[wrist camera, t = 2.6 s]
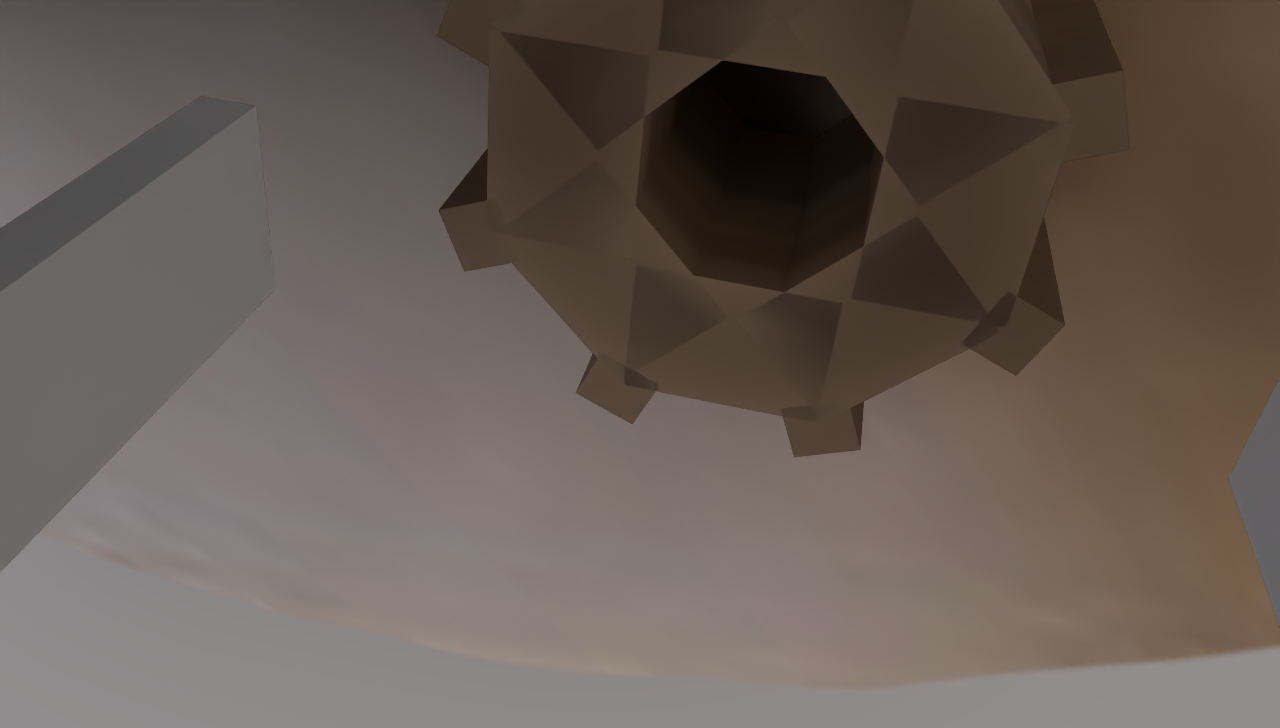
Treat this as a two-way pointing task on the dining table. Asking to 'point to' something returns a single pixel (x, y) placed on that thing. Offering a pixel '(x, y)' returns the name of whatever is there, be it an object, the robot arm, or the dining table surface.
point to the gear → (782, 190)
